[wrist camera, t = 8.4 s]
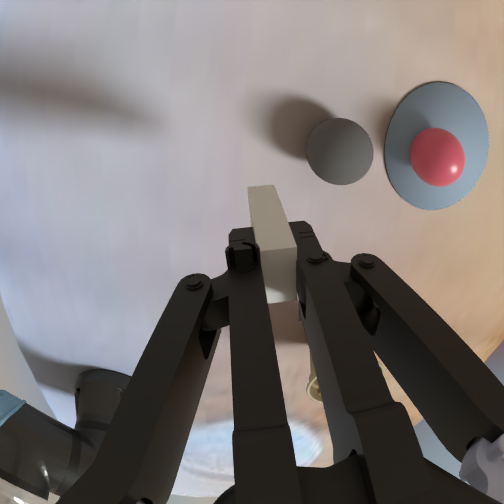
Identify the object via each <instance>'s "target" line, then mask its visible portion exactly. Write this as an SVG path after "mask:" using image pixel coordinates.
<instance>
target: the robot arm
mask: <svg viewBox="0 0 504 504" xmlns="http://www.w3.org/2000/svg"><path fill="white" fill-rule="evenodd" d="M247 188H248V198H249V208H250V219H251V227H247V228H238V229H232V231H231V232H230V234H229V246H228V247H227V248H226V250H225V254H226V260H227V266H228V270H227V271H226V272H225V273H224V274H222V275H221V276H219V277H216V278H213V279H210V278H209V277H208V276H207V275H205V274H200V273H197V274H191V275H188V276H186V277H184V278H183V279H181V280H180V282H179V283H178V285H177V287H176V289H175V290H174V292H173V294H172V296H171V298H170V300H169V302H168V304H167V306H166V308H165V310H164V312H163V314H162V316H161V318H160V320H159V322H158V324H157V326H156V328H155V330H154V332H153V334H152V336H151V338H150V340H149V342H148V344H147V346H146V348H145V350H144V352H143V354H142V356H141V358H140V360H139V362H138V364H137V366H136V368H135V371H134V373H133V375H132V377H129V376H126V375H123V374H120V373H116V372H112V371H106V370H89V371H85V372H83V373H81V374H80V375H79V377H78V379H77V382H76V386H75V405H76V418H77V419H76V424H75V429H73V428H70V427H69V426H67V425H65V424H63V423H61V422H59V421H57V420H55V419H53V418H52V417H50V416H48V415H46V414H44V413H43V412H41V411H39V410H37V409H36V408H34V407H32V406H31V405H29V404H27V403H26V401H25V400H21V399H19V398H17V397H15V396H14V395H12V394H10V393H9V392H7V391H5V390H0V504H45V503H47V501H48V496H49V492H51V493H54V494H56V495H58V496H60V498H59V500H58V502H56V504H166V503H167V501H168V499H169V496H170V494H171V491H172V488H173V486H174V482H175V479H176V476H177V472H178V469H179V466H180V463H181V459H182V456H183V453H184V450H185V446H186V443H187V440H188V437H189V433H190V430H191V427H192V424H193V420H194V417H195V414H196V411H197V407H198V404H199V401H200V398H201V395H202V391H203V388H204V385H205V382H206V378H207V375H208V372H209V369H210V366H211V362H212V359H213V356H214V353H215V350H216V346H217V343H218V340H219V337H220V334H221V328H222V327H225V326H228V325H230V350H231V374H232V395H233V415H234V431H233V434H232V445H233V463H234V479H235V485H233V486H231V487H230V488H229V489H227V490H226V491H225V492H224V493H223V494H221V495H220V496H219V498H218V499H217V500H216V501H215V502H214V504H504V386H503V385H502V383H501V382H500V381H499V380H498V379H497V377H496V376H495V375H494V374H493V373H492V372H491V371H490V369H489V368H488V367H487V366H486V365H485V364H484V363H483V362H482V360H481V359H480V358H479V357H478V356H477V355H476V354H475V353H474V352H473V351H472V349H471V348H470V347H469V346H468V345H467V344H466V343H465V342H464V341H463V340H462V339H461V338H460V337H459V336H458V334H457V333H456V332H455V331H454V330H453V329H452V328H451V327H450V326H449V325H448V324H447V323H446V322H445V321H444V320H443V319H442V318H441V317H440V316H439V315H438V314H437V313H436V312H435V311H434V310H433V309H432V308H431V307H430V306H429V305H428V304H427V303H426V302H425V301H424V300H423V299H422V298H421V297H420V296H419V295H418V294H417V293H416V292H415V291H414V290H413V289H412V288H411V287H410V286H409V285H408V284H406V283H405V282H404V281H403V280H402V279H401V278H400V277H399V276H398V275H397V274H396V273H395V272H394V271H393V270H392V269H391V268H389V267H388V266H387V265H386V264H385V263H384V262H383V261H382V260H381V259H380V258H378V257H377V256H375V255H372V254H366V253H362V254H357V255H355V256H354V257H353V258H352V259H351V263H346V262H338V261H334V260H333V259H332V257H331V256H330V255H329V254H328V253H327V252H325V251H323V250H322V248H321V246H320V244H319V242H318V239H317V237H316V235H315V233H314V232H313V229H312V227H311V225H310V224H308V223H307V222H305V221H296V222H288V221H287V218H286V215H285V212H284V210H283V207H282V204H281V202H280V199H279V196H278V194H277V191H276V188H275V186H274V185H264V186H254V187H247ZM297 293H298V297H299V321H301V318H302V321H303V325H304V329H305V333H306V337H307V341H308V345H309V349H310V353H311V356H312V360H313V364H314V368H315V372H316V376H317V381H318V385H319V389H320V393H321V397H322V401H323V405H324V409H325V414H326V418H327V422H328V426H329V431H330V435H331V439H332V444H333V461H334V465H332V466H329V467H326V468H317V467H299V466H296V460H295V454H294V448H293V442H292V436H291V431H290V427H289V425H288V422H287V416H286V410H285V404H284V398H283V391H282V385H281V379H280V373H279V367H278V361H277V355H276V349H275V343H274V337H273V332H272V326H271V320H270V314H269V308H268V304H269V303H278V302H286V301H294V300H297ZM373 350H374V351H375V353H376V354H377V355H378V357H379V358H380V359H381V361H382V362H383V363H384V365H385V366H386V367H387V369H388V370H389V371H390V373H391V374H392V375H393V377H394V378H395V379H396V381H397V382H398V383H399V385H400V386H401V387H402V389H403V390H404V392H405V393H406V394H407V396H408V397H409V398H410V400H411V401H412V402H413V404H414V405H415V407H416V408H417V409H418V411H419V412H420V413H421V415H422V416H423V418H424V419H425V420H426V422H427V423H428V425H429V426H430V427H431V429H432V430H433V432H434V433H435V434H436V436H437V437H438V439H439V440H440V441H441V443H442V444H443V445H444V446H445V448H446V449H447V450H448V451H449V452H450V453H451V454H452V455H453V456H454V457H455V458H456V459H457V460H458V461H460V462H461V463H462V465H461V469H460V472H459V476H460V478H461V480H460V479H458V478H457V477H455V476H453V475H452V474H450V473H448V472H447V471H445V470H443V469H442V468H440V467H439V466H437V465H435V464H434V463H432V462H430V461H429V460H427V459H426V458H424V457H423V454H422V451H421V448H420V445H419V442H418V439H417V437H416V434H415V431H414V429H413V426H412V423H411V420H410V418H409V415H408V412H407V410H406V408H405V407H404V405H403V404H402V403H401V402H395V401H394V400H393V398H392V396H391V394H390V391H389V389H388V386H387V383H386V381H385V378H384V376H383V373H382V371H381V368H380V366H379V363H378V361H377V358H376V356H375V354H374V351H373ZM462 480H463V481H467V482H468V483H469V484H470V485H468V484H467V483H465V482H463V481H462Z"/></svg>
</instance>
